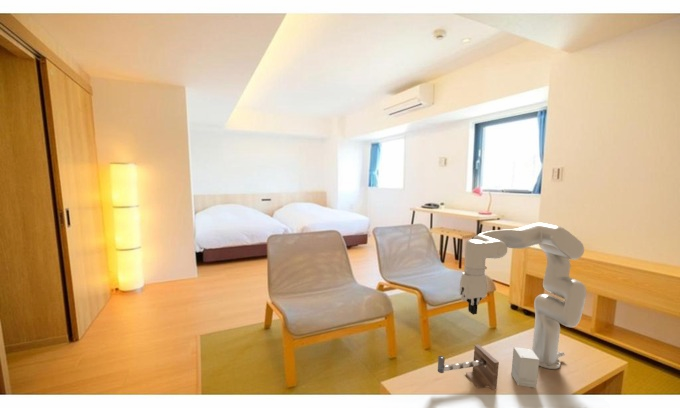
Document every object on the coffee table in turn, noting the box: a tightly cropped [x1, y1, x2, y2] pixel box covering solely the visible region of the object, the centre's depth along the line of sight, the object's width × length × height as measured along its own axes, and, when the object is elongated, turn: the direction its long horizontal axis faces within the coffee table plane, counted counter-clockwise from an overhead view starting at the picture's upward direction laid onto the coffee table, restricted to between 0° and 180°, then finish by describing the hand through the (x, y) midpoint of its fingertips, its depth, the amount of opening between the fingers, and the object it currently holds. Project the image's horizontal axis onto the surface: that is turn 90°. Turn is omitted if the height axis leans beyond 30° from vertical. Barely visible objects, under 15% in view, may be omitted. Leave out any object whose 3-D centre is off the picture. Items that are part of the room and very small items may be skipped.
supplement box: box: [510, 346, 540, 388], centre depth 123 cm, size 7×7×13 cm
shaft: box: [437, 355, 484, 374], centre depth 120 cm, size 20×2×6 cm, turn 102°
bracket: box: [465, 344, 500, 391], centre depth 123 cm, size 7×12×12 cm, turn 12°
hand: (472, 312), depth 121 cm, fingers closed
